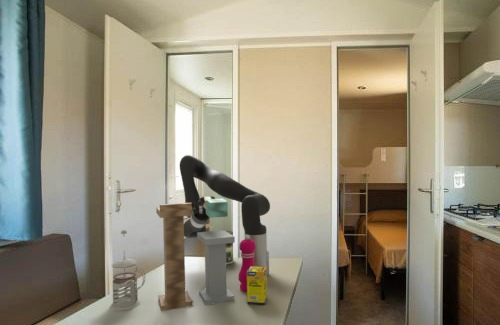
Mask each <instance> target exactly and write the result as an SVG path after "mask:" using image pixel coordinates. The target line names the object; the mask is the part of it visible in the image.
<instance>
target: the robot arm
mask: <svg viewBox="0 0 500 325" xmlns="http://www.w3.org/2000/svg"><path fill="white" fill-rule="evenodd" d="M179 173H180V176H181V181H182V187H183V191H184V192H183V193H184V203H192V216H186V217H187V218H189V219H187V220H186V221H184V238H188V239H189V238H191V239H192V238H197V232H207V226H206V225H207V223H208V222H209V220H210V219H211V218H210V217H209V216H208V215H207V214H206V209H205V208H204V207H203V204H204V202H205V199H204V197H205V196H200V194H199V190H198V189H197V186H196V183H195V179H197V180H199V181H202V182H203V183H205V185H207V187H208V188H209V189H210V190H212V191H213V192H214V193H216V194H217V195H219V196H220V197H222V198H226V199H229V200H233V201H235V202H240V203H241V206H240V208H241V210H240V211H241V222H242V227H243V230H244V237H245V236H246V235H249V237H250V238H249V239H251V240H253V241H254V243H255V246H256V247H255V250H254V251H253V252H254V257H253V263H254V266H256V267H267V276H268V275H269V276H270V253H269V252H270V251H268V243H267V241H268V240H267V239H268V237H267V226H266V225H265V224H263V223H261V216H264V215H266V214H268V212H269V211H270V209H271V203H270V201H269V199H268V197H266V196H265V195H264V194H261V193H259V192H257V191H254V190H252V189H250V188H248V187H246V186H245V185H243V184H242V183H240V182H239V181H237V180H235V179H233V178H231V177H230V176H228V175H226V174H225V173H223V172H221V171H218V170H215V169H213V168H211V167H209V165H207V164H206V163H205V162H203V161H202V160H201V159H199V158H197V157H195V156H193V155H191V154H186V155H184V156H183V157H181V159H180V161H179ZM201 197H202V198H201ZM210 198H211V199H216V197H215V196H214V195H211V196H210Z"/></svg>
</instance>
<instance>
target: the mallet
mask: <svg viewBox="0 0 500 325" xmlns="http://www.w3.org/2000/svg"><path fill="white" fill-rule="evenodd" d="M202 197H204V199H205V202H204V204H203V207H204V208H205V209H206V214H207V215H208V216H209V217H210V218H209V219H211V218H213V219H214V218H226V217H227V218H228V215H229V214H228V212H229V211H228V209H229V208H228V205H229V204H228V201H227V200H226V199H224V198H215V199H211V196H200V198H202Z"/></svg>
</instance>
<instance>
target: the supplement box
mask: <svg viewBox="0 0 500 325" xmlns="http://www.w3.org/2000/svg"><path fill="white" fill-rule="evenodd" d="M246 295H247V296H246V297H247V299H246V300H247V302H246V303H247V305H257V306H258V305H259V306H265V305H266V301H267V300H268V275H267V267H256V266H251V267H250V268H249V269H248V271H247V292H246Z"/></svg>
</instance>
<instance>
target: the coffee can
mask: <svg viewBox="0 0 500 325" xmlns="http://www.w3.org/2000/svg"><path fill="white" fill-rule="evenodd" d="M225 231H226V232H228V233H229V234H231V235H233V233H234V232H233V231H232V230H225ZM233 236H234V235H233ZM233 263H234V243H226V266H227V265H230V264H233Z"/></svg>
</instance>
